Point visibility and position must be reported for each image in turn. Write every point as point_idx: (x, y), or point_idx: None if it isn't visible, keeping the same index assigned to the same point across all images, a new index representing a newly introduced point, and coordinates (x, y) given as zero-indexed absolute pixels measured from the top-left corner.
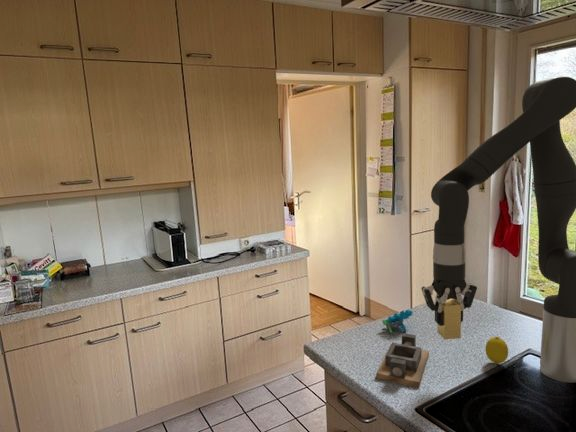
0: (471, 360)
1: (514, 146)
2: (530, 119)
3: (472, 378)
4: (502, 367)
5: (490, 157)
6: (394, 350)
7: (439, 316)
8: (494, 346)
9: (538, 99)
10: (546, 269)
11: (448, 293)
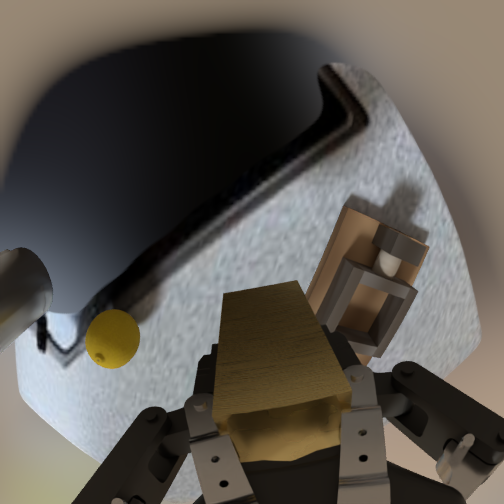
0: (177, 334)
1: None
2: None
3: (194, 255)
4: (115, 305)
5: None
6: (379, 332)
7: (341, 356)
8: (113, 334)
9: None
10: None
11: (344, 489)
